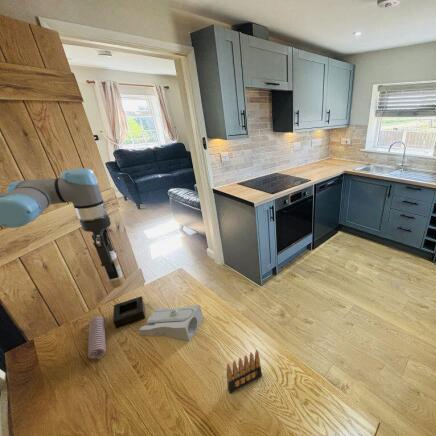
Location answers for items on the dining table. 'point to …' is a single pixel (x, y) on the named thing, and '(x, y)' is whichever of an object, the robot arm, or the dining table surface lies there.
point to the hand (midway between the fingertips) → (114, 274)
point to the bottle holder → (130, 317)
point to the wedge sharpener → (174, 322)
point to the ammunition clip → (241, 378)
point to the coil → (97, 338)
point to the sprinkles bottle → (120, 280)
